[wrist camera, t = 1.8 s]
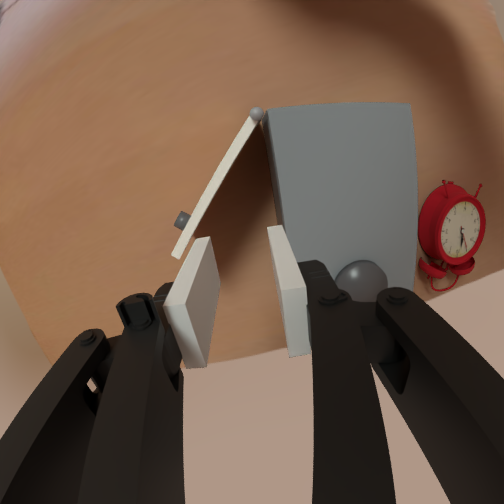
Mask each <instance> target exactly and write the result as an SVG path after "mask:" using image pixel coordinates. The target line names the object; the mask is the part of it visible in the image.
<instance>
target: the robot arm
mask: <svg viewBox="0 0 504 504" xmlns="http://www.w3.org/2000/svg"><path fill="white" fill-rule="evenodd" d="M267 230H268V237H269V244H270V250H271V257H272V264H273V271H274V277H275V282H276V288H277V293H278V298H279V304H280V309H281V315H282V320H283V325H284V331H285V336H286V342H287V348H288V352H289V357H296V356H302V355H307V354H311V350H312V365H313V404H314V460H313V462H314V463H313V464H314V465H313V494H312V504H396V499H395V490H394V482H393V474H392V468H391V461H390V455H389V449H388V443H387V438H386V432H385V427H384V422H383V417H382V413H381V407H380V403H379V398H378V394H377V389H376V385H375V381H374V377H373V373H372V369H371V365H372V367H373V369H374V371H375V372H376V374H377V375H378V377H379V379H380V380H381V382H382V384H383V385H384V387H385V388H386V390H387V391H388V393H389V395H390V397H391V398H392V400H393V401H394V403H395V405H396V407H397V408H398V410H399V411H400V413H401V415H402V417H403V418H404V420H405V422H406V423H407V425H408V427H409V429H410V430H411V432H412V434H413V435H414V437H415V439H416V441H417V442H418V444H419V446H420V448H421V449H422V451H423V453H424V455H425V457H426V458H427V460H428V462H429V464H430V466H431V467H432V469H433V471H434V473H435V475H436V477H437V478H438V480H439V482H440V484H441V486H442V488H443V489H444V492H445V493H446V495H447V497H448V499H449V501H450V503H451V504H504V379H503V378H502V377H501V376H500V375H499V374H498V373H497V371H496V370H494V368H493V367H492V366H491V365H490V364H489V363H488V362H487V361H486V360H485V359H484V358H483V357H482V356H481V355H480V354H479V353H478V352H477V351H476V350H475V349H474V348H473V347H472V346H471V345H470V344H469V343H468V342H467V341H466V340H465V339H464V338H463V337H462V336H461V335H460V334H459V333H458V332H457V331H456V330H455V329H454V328H453V327H452V326H450V325H449V324H448V323H447V322H446V321H445V320H444V319H443V318H442V317H441V316H440V315H439V314H438V313H436V312H435V311H434V310H433V309H432V308H431V307H430V306H429V305H428V304H426V303H425V302H424V301H423V300H422V299H421V298H420V297H419V296H417V295H416V294H415V293H414V292H412V291H411V290H409V289H406V288H402V287H391V288H386V289H384V290H382V291H380V292H379V293H378V294H377V299H376V302H358V301H353V300H352V298H351V296H350V294H349V293H348V292H346V291H344V290H342V289H339V288H338V287H337V285H336V283H335V281H334V280H333V278H332V276H331V275H330V273H329V271H328V270H327V268H326V266H325V264H324V263H322V262H320V261H318V260H310V261H304V262H296V259H295V256H294V254H293V251H292V249H291V246H290V244H289V241H288V239H287V236H286V234H285V231H284V229H283V227H282V225H277V226H271V227H267ZM220 285H221V282H220V277H219V273H218V269H217V264H216V260H215V256H214V251H213V247H212V242H211V238H210V236H209V237H203V238H197V239H196V240H195V242H194V244H193V246H192V247H191V249H190V251H189V253H188V255H187V257H186V259H185V261H184V263H183V265H182V267H181V269H180V271H179V273H178V275H177V277H176V279H175V281H174V282H170V283H165V284H164V285H162V286H161V287H160V288H159V289H158V290H157V292H156V293H155V295H154V297H152V295H150V294H148V293H137V294H134V295H130V296H128V297H126V298H124V299H123V300H121V301H120V302H119V303H118V304H117V305H116V308H117V311H118V313H119V315H120V318H121V320H122V322H123V325H124V330H123V333H122V335H119V336H115V337H111V338H108V339H107V338H106V336H105V334H104V332H103V331H102V330H101V329H89V330H86V331H84V332H83V333H81V334H80V335H78V336H77V337H76V338H75V339H74V340H73V342H72V343H71V344H70V345H69V346H68V348H67V349H66V350H65V351H64V353H63V354H62V355H61V356H60V358H59V359H58V360H57V361H56V363H55V364H54V365H53V366H52V368H51V369H50V370H49V372H48V373H47V374H46V376H45V377H44V378H43V380H42V381H41V382H40V383H39V385H38V386H37V387H36V389H35V390H34V391H33V393H32V394H31V395H30V397H29V398H28V400H27V401H26V403H25V404H24V405H23V407H22V408H21V410H20V411H19V412H18V414H17V415H16V417H15V418H14V420H13V421H12V423H11V424H10V426H9V427H8V429H7V430H6V432H5V434H4V435H3V436H2V438H1V439H0V504H185V492H184V470H183V469H184V468H183V381H184V377H183V373H182V371H181V368H180V363H181V360H182V359H183V361H184V364H185V366H186V369H190V368H204V367H207V362H208V355H209V349H210V343H211V337H212V331H213V325H214V319H215V313H216V308H217V302H218V296H219V290H220ZM310 346H311V348H310ZM370 363H371V365H370ZM90 378H91V379H92V381H93V382H94V384H95V386H96V387H97V388H96V390H95V391H94V392H92V391H91V390H90V389H89V387H88V386H87V382H88V381H89V379H90Z"/></svg>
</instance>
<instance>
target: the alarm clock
mask: <svg viewBox="0 0 504 504" xmlns="http://www.w3.org/2000/svg"><path fill="white" fill-rule="evenodd" d="M442 183H444V185H442V186H440V187H438V188H437V189H435V190H434V191H433V192H432V193H431V194H430V195H429V197H428V198H427V199H426V201H425V203H424V205H423V207H422V209H421V212H420V216H419V221H418V237H419V241H420V244H421V246H422V248H423V250H424V251H425V252H426V253H427V254H428V255H429V256H431V257H432V258H434V259H438V260H443V261H442V263H441V266H439V265H438V264H436V263H434V262H432V261H431V263H430V265H428V264H427V263H425V262H424V261H423V260H422V259H421V258H422V257H421V258H420V260H419V266H420V268H421V269H422V270H423V271H424V272H425V273H426V274H428V277H427V279H429V277H430V276H431V287H432V289H433V290H435V291H445V290H448V289H450V288H451V287H453V286H454V285H455V283H456V282H457V279H458V276H459V275H465V274H468V273H470V272H471V271H472V270H473V268H474V265H475V260H474V258H473V257H472V256H473V255H474V254H475V253H476V251H477V250H478V248H479V246H480V244H481V242H482V240H483V237H484V233H485V225H486V219H485V213H484V209H483V207H482V205H481V203H480V202H479V201H478V200H477V199H476V197H477V195H478V192H479V190H480V188H481V187H482V184H479V188H478V190H477V192H476V194H475V196H472V195H470V194H468V193H467V192H466V191H465V190H464V189H463V188H461V187H460V186H457V185H454V184H453V182H449V181H448V184H445V180H442ZM444 262H446V263H447V267H446V268H445V269H443V268H442V265H443V263H444ZM448 267H449V269H450V271H451V272H452V273H454V274H456V275H457V278H456V280H455V282H454V283H453V284H452V285H451V286H450V287H448V288H446V289H441V290H438V289H435V288H434V287H433V285H432V277H434V278H438V279H441V278H443V277H445V275H446V273H447V272H446V270H448Z"/></svg>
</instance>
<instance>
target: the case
mask: <svg viewBox="0 0 504 504" xmlns="http://www.w3.org/2000/svg"><path fill="white" fill-rule="evenodd" d="M262 125H263V131H264V137H265V143H266V150H267V156H268V162H269V169H270V175H271V182H272V188H273V195H274V202H275V209H276V216H277V223H278V225H282V227H283V229H284V231H285V234H286V236H287V239H288V241H289V244H290V246H291V249H292V251H293V254H294V256H295V259H296V262H304V261H310V260H318V261H320V262H322V263H324V264H325V266H326V268H327V270H328V271H329V273H330V275H331V276H332V278H333V280H334V281H335V283H336V285H337V287H338V288H339V289H342V290H344V291H346V292H348V293H349V294H350V296H351V298H352V300H353V301H358V302H376V299H377V294H378V293H379V292H380V291H382V290H384V289H386V288H391V287H402V288H406V289H409V290H411V291H412V292H413V286H414V277H415V266H416V252H417V232H418V181H417V162H416V148H415V138H414V128H413V120H412V113H411V106H410V103H384V102H355V103H328V104H312V105H300V106H290V107H280V108H272V109H267V111H266V112H265V114H264V116H263V118H262Z"/></svg>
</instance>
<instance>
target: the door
mask: <svg viewBox="0 0 504 504" xmlns="http://www.w3.org/2000/svg"><path fill="white" fill-rule="evenodd" d="M263 115H264V112H263V110H262V109H261V108H259V107H254V108H252V109H251V111H250V116H249V117H248V119H247V120H246V122H245V123H244V125H243V127H242V128H241V130H240V132H239V133H238V135H237V136H236V138H235V140H234V141H233V143H232V145H231V146H230V148H229V150H228V151H227V153H226V155H225V156H224V158H223V160H222V161H221V163H220V165H219V167H218V168H217V170H216V172H215V174H214V175H213V177H212V179H211V181H210V182H209V184H208V186H207V188H206V190H205V191H204V193H203V195H202V197H201V199H200V200H199V202H198V204H197V206H196V208H195V210H194V211H193V213H192V215H189V214H187V213H185V212H183V211H181V212H180V214H179V216H178V217H177V219H176V221H175V223H174V226H175V227H177V228H179V229H181V230H183V232H182V234H181V236H180V238H179V240H178V242H177V244H176V246H175V248H174V250H173V252H172V254H171V255H172V256H174V257H175V258H177V259H180V257H181V255H182V253H183V252H184V250H185V248H186V246H187V244H188V243H189V241H190V239H191V237H192V236H193V234H194V232H195V230H196V228H197V227H198V225H199V223H200V221H201V219H202V217H203V216H204V214H205V212H206V210H207V208H208V207H209V205H210V203H211V201H212V200H213V198H214V196H215V194H216V193H217V191H218V189H219V187H220V186H221V184H222V182H223V180H224V179H225V177H226V175H227V174H228V172H229V170H230V168H231V167H232V165H233V163H234V162H235V160H236V158H237V157H238V155H239V153H240V152H241V150H242V148H243V147H244V145H245V144H246V142H247V140H248V139H249V137H250V135H251V134H252V132H253V131H254V129H255V127H256V126H258V125H259V123H260V121H261V119H262V117H263Z"/></svg>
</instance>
